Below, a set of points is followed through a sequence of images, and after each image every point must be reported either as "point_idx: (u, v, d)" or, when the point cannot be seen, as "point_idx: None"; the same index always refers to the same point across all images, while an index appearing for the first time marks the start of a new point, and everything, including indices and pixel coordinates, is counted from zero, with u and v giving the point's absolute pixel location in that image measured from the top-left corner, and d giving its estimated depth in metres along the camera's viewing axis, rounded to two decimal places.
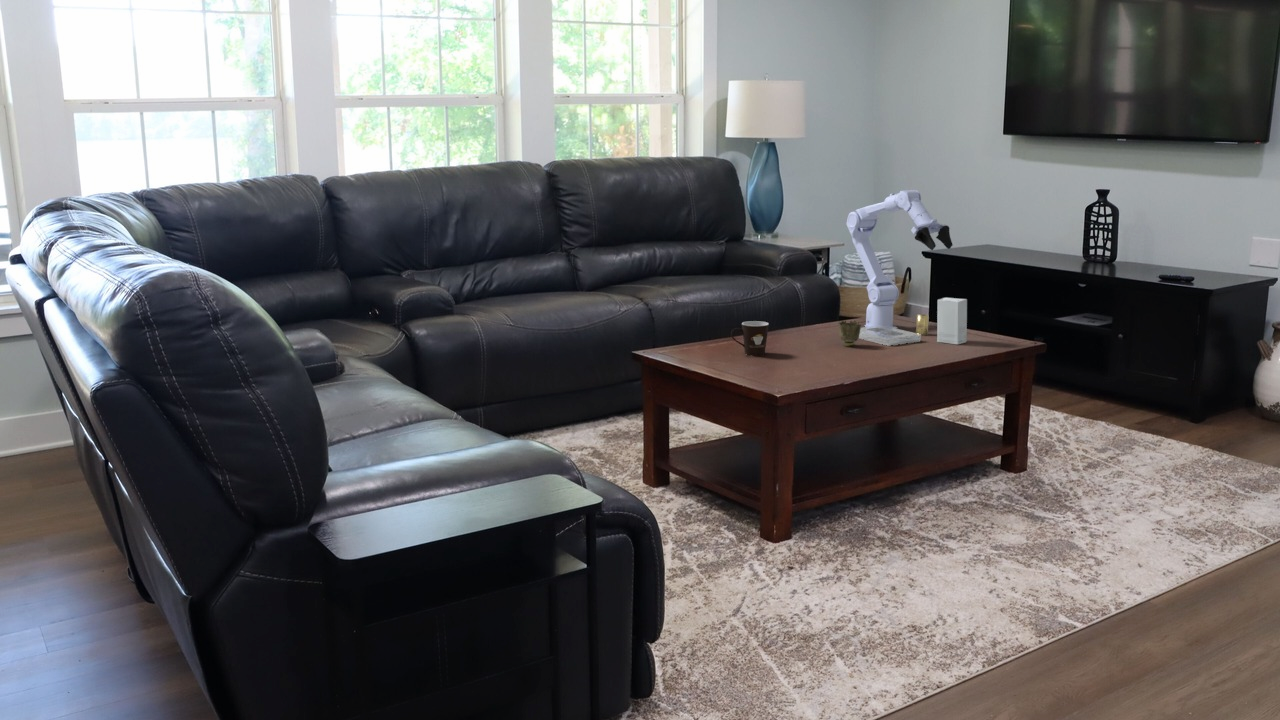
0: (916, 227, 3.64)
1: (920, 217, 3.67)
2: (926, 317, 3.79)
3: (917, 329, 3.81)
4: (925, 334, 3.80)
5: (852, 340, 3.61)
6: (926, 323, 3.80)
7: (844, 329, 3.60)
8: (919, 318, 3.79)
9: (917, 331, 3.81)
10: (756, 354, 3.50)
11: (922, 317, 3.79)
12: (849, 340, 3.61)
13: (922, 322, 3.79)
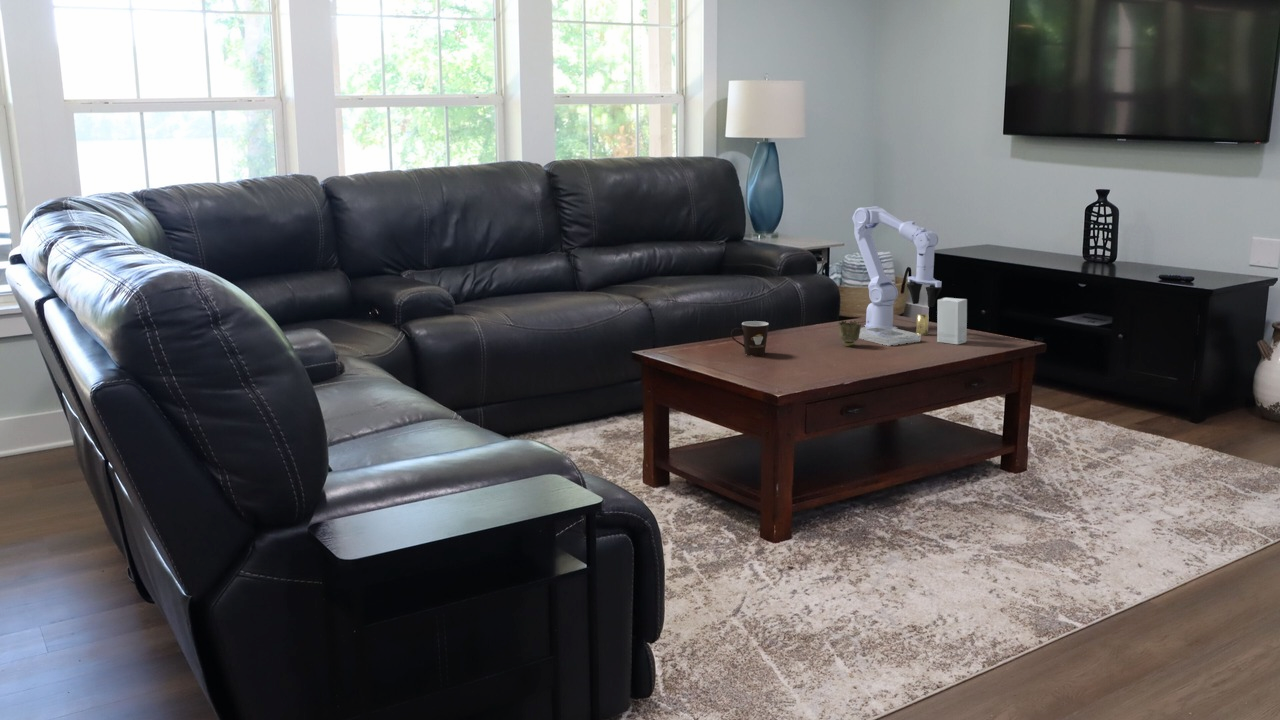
0: None
1: None
2: (926, 317, 3.79)
3: (917, 329, 3.81)
4: (925, 334, 3.80)
5: (852, 340, 3.61)
6: (926, 323, 3.80)
7: (844, 329, 3.60)
8: (919, 318, 3.79)
9: (917, 331, 3.81)
10: (756, 354, 3.50)
11: (922, 317, 3.79)
12: (849, 340, 3.61)
13: (922, 322, 3.79)
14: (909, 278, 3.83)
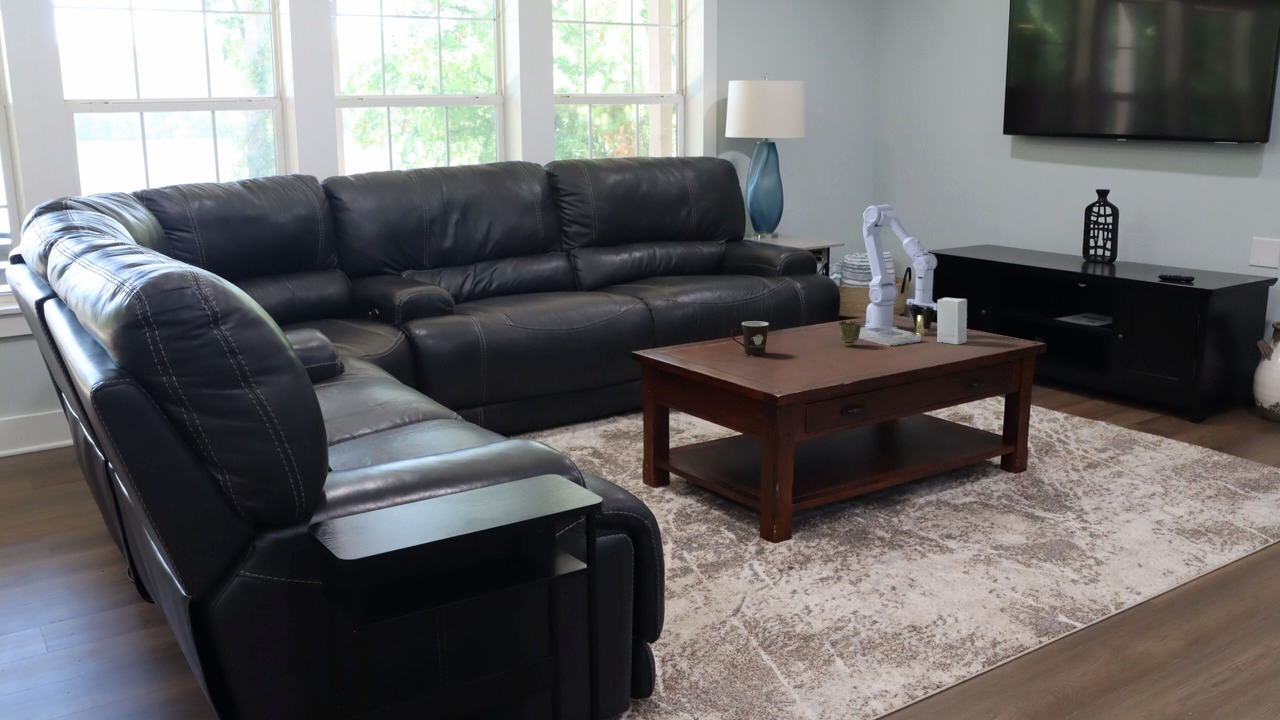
0: None
1: (931, 293, 3.78)
2: None
3: (917, 329, 3.81)
4: (925, 334, 3.80)
5: (852, 340, 3.61)
6: None
7: (844, 329, 3.60)
8: (919, 318, 3.79)
9: (917, 331, 3.81)
10: (756, 354, 3.50)
11: (922, 317, 3.79)
12: (849, 340, 3.61)
13: (922, 322, 3.79)
14: (908, 300, 3.85)
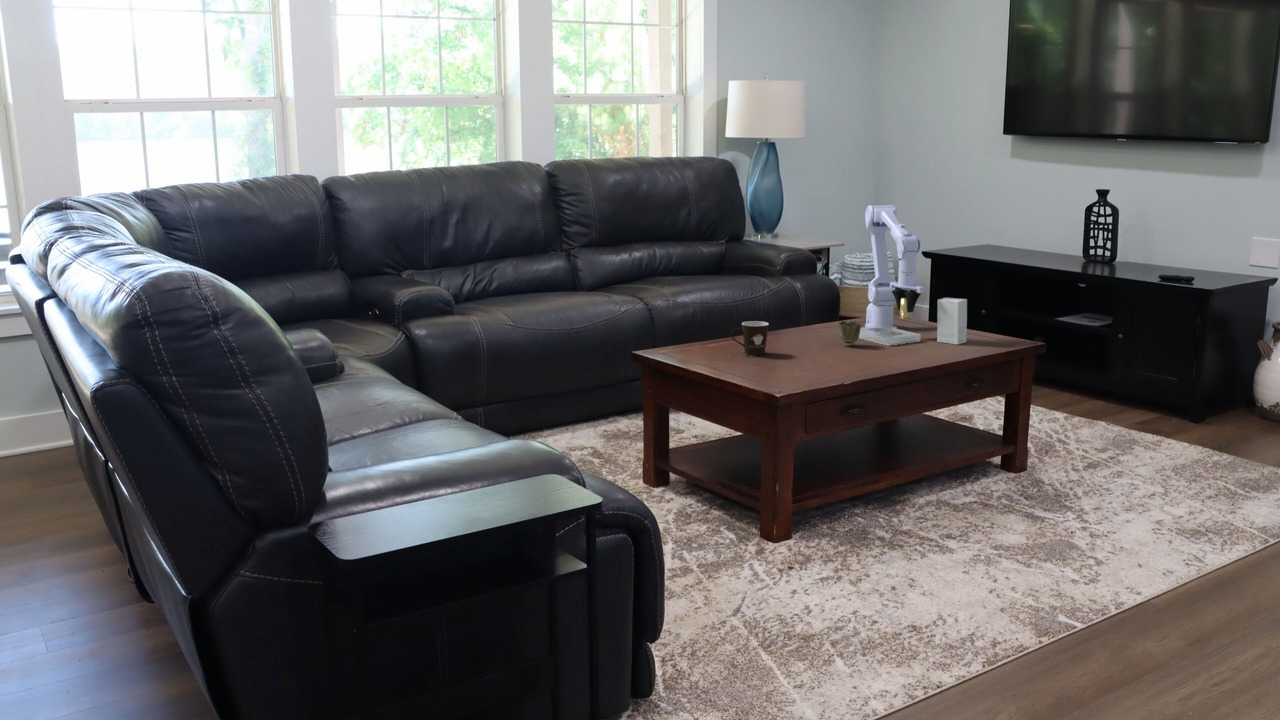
0: None
1: (915, 275, 3.70)
2: None
3: (901, 312, 3.73)
4: (909, 318, 3.73)
5: (852, 340, 3.61)
6: None
7: (844, 329, 3.60)
8: (903, 301, 3.72)
9: (901, 315, 3.73)
10: (756, 354, 3.50)
11: (906, 300, 3.71)
12: (849, 340, 3.61)
13: (906, 305, 3.72)
14: (891, 284, 3.77)
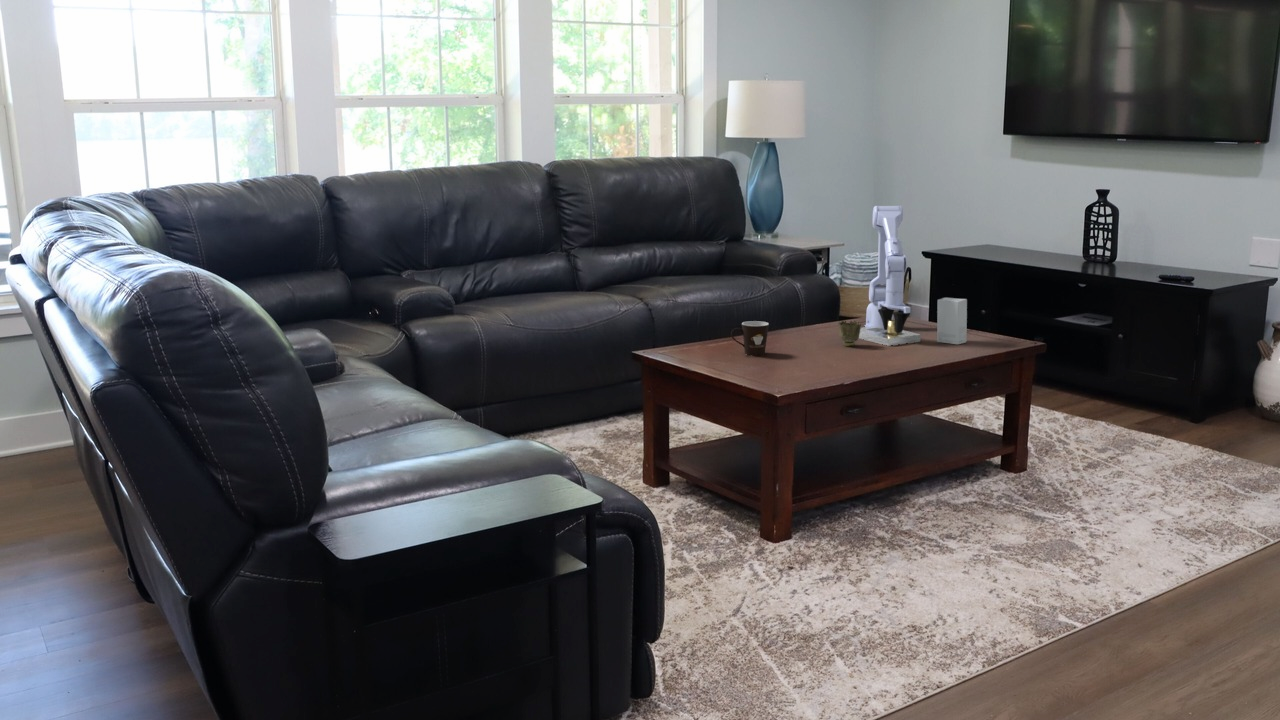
0: None
1: (902, 295, 3.67)
2: None
3: None
4: None
5: (852, 340, 3.61)
6: None
7: (844, 329, 3.60)
8: (890, 324, 3.69)
9: None
10: (756, 354, 3.50)
11: (893, 323, 3.69)
12: (849, 340, 3.61)
13: (893, 328, 3.69)
14: (879, 303, 3.74)
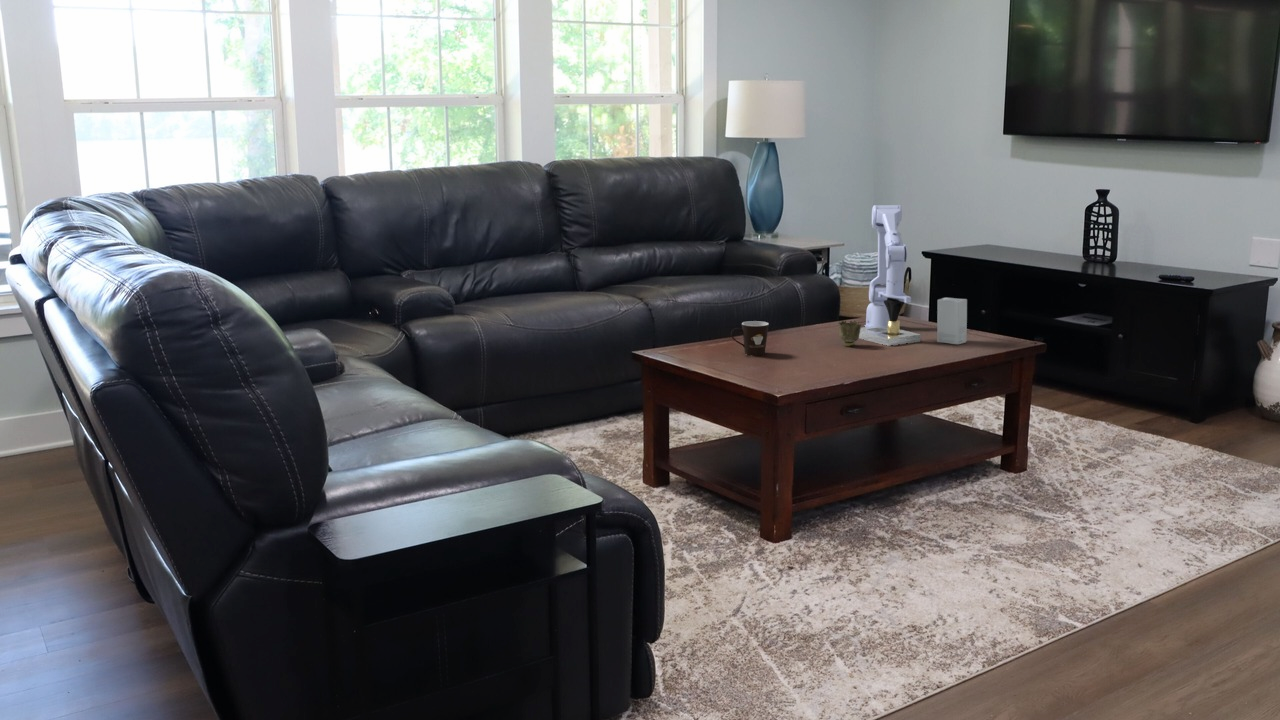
0: None
1: (903, 285, 3.66)
2: (897, 323, 3.69)
3: None
4: None
5: (852, 340, 3.61)
6: (897, 329, 3.69)
7: (844, 329, 3.60)
8: (890, 324, 3.69)
9: None
10: (756, 354, 3.50)
11: (893, 323, 3.69)
12: (849, 340, 3.61)
13: (893, 328, 3.69)
14: (880, 293, 3.74)
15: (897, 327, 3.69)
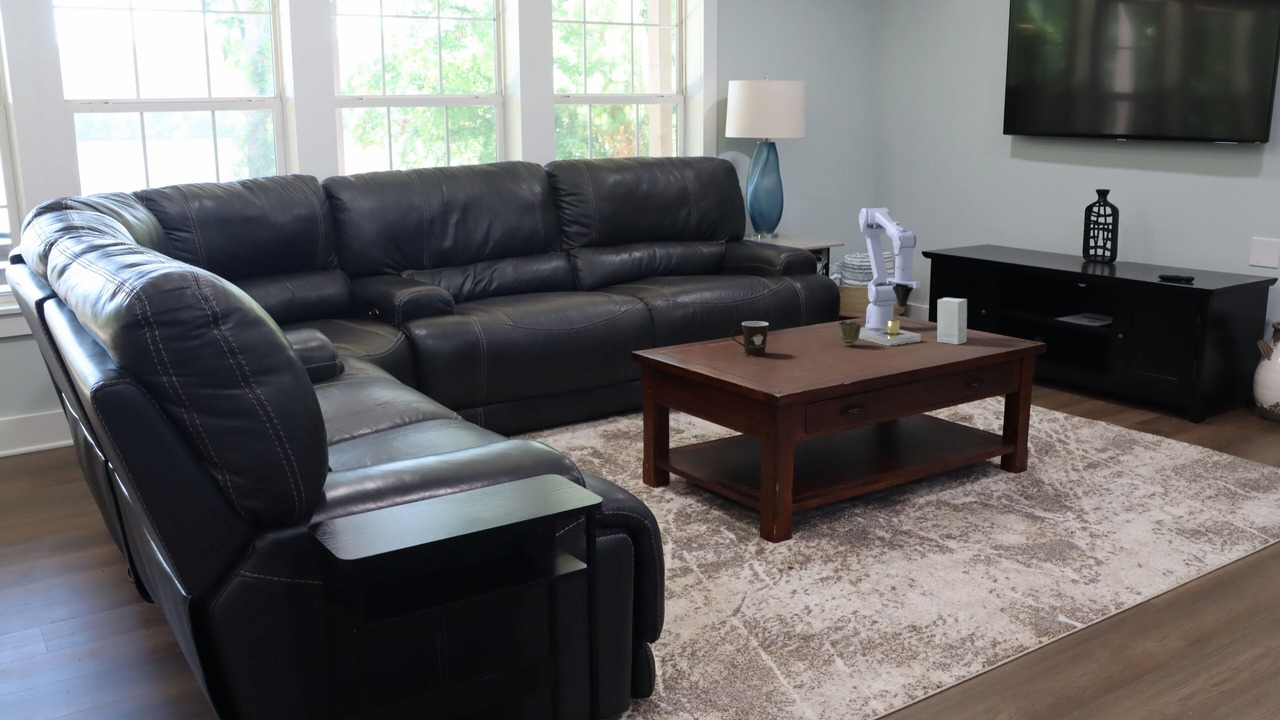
0: None
1: (911, 271, 3.74)
2: (897, 323, 3.69)
3: None
4: None
5: (852, 340, 3.61)
6: (897, 329, 3.69)
7: (844, 329, 3.60)
8: (890, 324, 3.69)
9: None
10: (756, 354, 3.50)
11: (893, 323, 3.69)
12: (849, 340, 3.61)
13: (893, 328, 3.69)
14: (888, 279, 3.81)
15: (897, 327, 3.69)
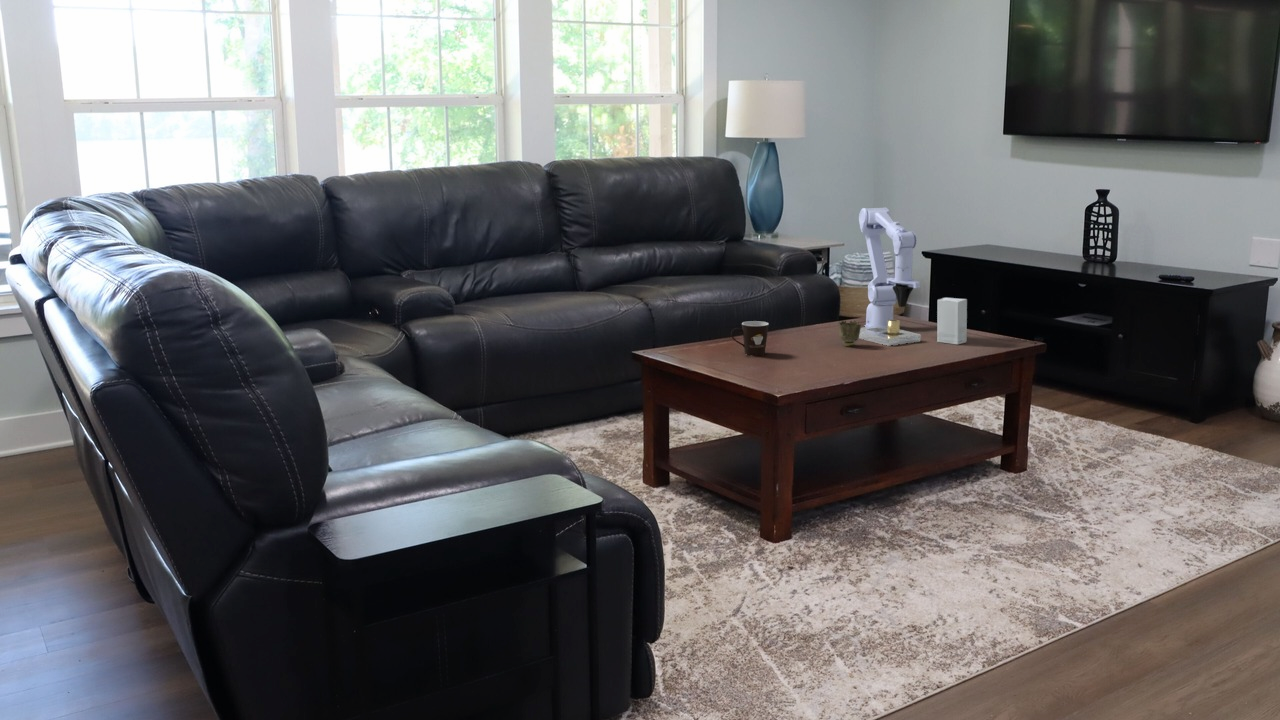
0: None
1: (911, 271, 3.74)
2: (897, 323, 3.69)
3: None
4: None
5: (852, 340, 3.61)
6: (897, 329, 3.69)
7: (844, 329, 3.60)
8: (890, 324, 3.69)
9: None
10: (756, 354, 3.50)
11: (893, 323, 3.69)
12: (849, 340, 3.61)
13: (893, 328, 3.69)
14: (888, 279, 3.81)
15: (897, 327, 3.69)
